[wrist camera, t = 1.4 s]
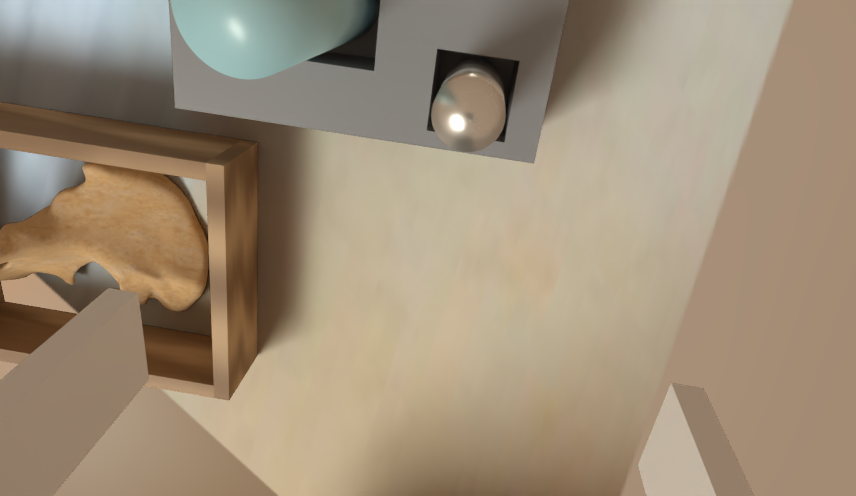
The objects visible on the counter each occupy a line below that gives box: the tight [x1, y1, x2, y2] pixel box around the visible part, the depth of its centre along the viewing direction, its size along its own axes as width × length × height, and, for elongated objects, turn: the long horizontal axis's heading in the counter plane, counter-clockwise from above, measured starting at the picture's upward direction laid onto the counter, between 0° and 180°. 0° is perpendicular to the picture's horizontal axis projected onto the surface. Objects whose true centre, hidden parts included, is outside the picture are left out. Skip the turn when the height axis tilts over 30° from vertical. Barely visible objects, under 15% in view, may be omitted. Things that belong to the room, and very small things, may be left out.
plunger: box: [431, 59, 506, 152], centre depth 26 cm, size 3×3×6 cm
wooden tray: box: [0, 102, 258, 400], centre depth 37 cm, size 16×20×5 cm
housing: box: [169, 0, 569, 163], centre depth 29 cm, size 12×18×6 cm, turn 83°
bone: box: [0, 162, 209, 311], centre depth 38 cm, size 10×10×15 cm
